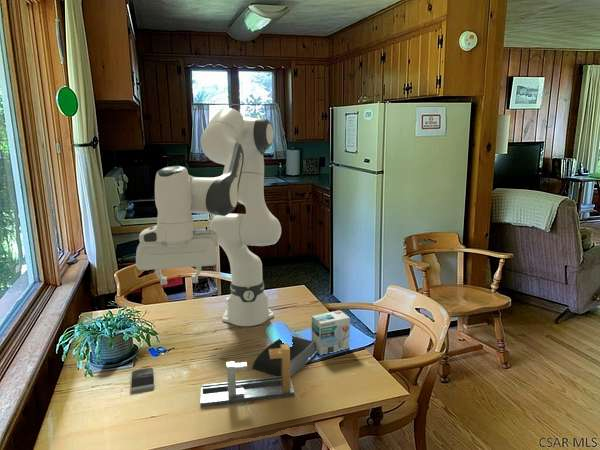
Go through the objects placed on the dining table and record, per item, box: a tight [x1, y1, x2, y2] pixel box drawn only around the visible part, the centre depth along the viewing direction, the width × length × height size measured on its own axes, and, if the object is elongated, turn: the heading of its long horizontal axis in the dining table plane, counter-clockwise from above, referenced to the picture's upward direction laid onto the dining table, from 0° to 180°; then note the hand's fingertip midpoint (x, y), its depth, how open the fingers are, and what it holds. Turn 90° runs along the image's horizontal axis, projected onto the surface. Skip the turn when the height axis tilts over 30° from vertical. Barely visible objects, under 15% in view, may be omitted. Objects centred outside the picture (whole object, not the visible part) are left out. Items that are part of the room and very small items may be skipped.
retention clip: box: [226, 361, 248, 398], centre depth 116 cm, size 2×5×9 cm, turn 101°
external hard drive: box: [251, 335, 316, 377], centre depth 136 cm, size 13×19×4 cm
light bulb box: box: [311, 309, 351, 355], centre depth 142 cm, size 11×7×11 cm, turn 114°
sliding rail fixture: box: [199, 344, 296, 408], centre depth 117 cm, size 7×24×13 cm, turn 101°
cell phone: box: [130, 367, 156, 395], centre depth 125 cm, size 6×11×1 cm, turn 19°
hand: (179, 283), depth 117 cm, fingers open, 6 cm apart
